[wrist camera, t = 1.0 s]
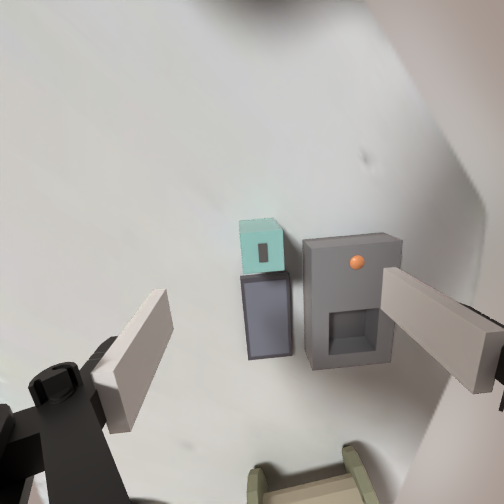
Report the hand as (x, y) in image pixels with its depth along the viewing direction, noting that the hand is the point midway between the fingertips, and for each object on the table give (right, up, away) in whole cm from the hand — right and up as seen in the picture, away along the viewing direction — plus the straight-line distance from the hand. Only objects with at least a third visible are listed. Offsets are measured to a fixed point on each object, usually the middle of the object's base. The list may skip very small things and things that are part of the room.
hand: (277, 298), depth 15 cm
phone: (0, -6, +19) cm, 19 cm away
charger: (-1, +5, +15) cm, 16 cm away
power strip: (+10, -3, +18) cm, 21 cm away
